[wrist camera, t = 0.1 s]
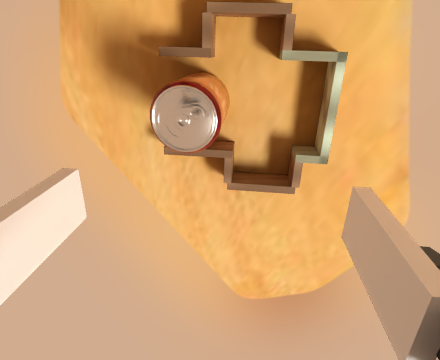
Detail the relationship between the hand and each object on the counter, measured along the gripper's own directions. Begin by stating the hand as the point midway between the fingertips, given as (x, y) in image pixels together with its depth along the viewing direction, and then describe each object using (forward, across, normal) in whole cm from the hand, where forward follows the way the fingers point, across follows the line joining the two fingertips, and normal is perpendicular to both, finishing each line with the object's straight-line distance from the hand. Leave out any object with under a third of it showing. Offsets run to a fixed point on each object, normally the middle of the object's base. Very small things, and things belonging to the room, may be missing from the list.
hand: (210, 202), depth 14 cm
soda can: (+28, -5, 0) cm, 28 cm away
